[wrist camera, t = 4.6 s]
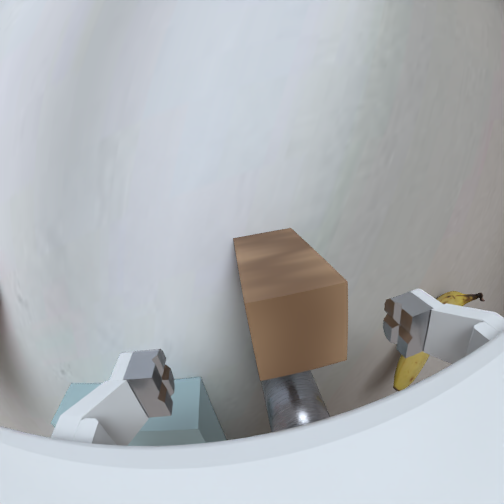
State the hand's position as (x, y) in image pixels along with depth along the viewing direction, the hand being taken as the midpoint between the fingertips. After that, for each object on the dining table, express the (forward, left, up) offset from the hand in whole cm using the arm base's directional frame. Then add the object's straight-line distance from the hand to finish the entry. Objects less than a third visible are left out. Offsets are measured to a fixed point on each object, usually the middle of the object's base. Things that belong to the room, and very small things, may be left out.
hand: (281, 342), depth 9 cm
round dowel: (-1, +8, -8) cm, 11 cm away
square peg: (-1, 0, -8) cm, 8 cm away
